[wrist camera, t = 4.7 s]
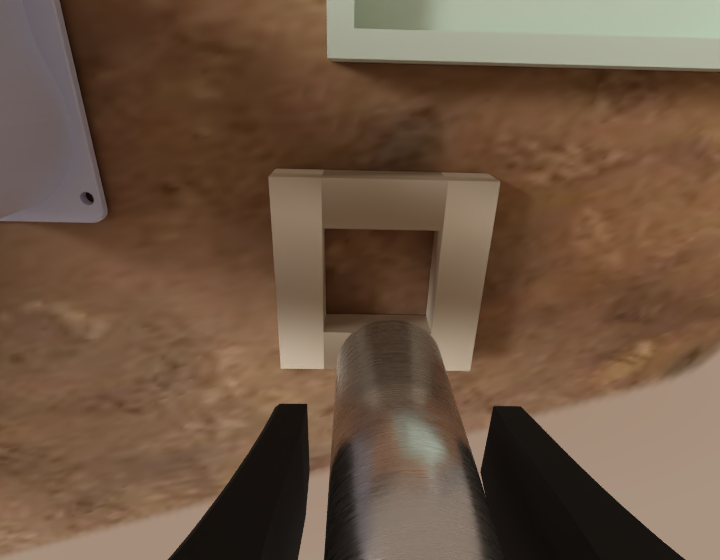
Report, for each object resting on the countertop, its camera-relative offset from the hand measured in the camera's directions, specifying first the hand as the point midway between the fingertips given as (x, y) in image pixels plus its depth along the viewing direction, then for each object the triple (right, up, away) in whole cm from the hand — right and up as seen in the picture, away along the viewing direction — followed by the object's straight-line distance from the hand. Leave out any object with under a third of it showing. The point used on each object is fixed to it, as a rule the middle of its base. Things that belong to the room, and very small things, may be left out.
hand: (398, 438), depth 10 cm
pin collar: (0, +4, +9) cm, 10 cm away
